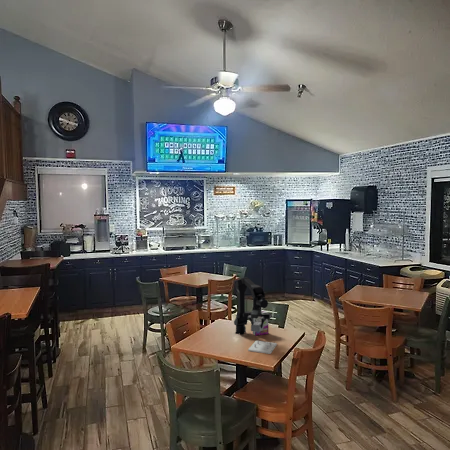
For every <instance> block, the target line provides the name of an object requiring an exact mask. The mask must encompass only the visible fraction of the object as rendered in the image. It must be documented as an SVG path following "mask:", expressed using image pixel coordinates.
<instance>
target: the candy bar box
mask: <svg viewBox="0 0 450 450" xmlns="http://www.w3.org/2000/svg"><path fill="white" fill-rule="evenodd" d="M261 312H262V313H261V314H265V313H269V312H268V311H266V310H264V311H262V310H261ZM261 319H262V317H258V318H257V319H256V318H253V320H254V322H255V321H257V322H262V320H261ZM253 334H254V335H253ZM252 335H253V336H255V337H256V336H258V335H259V336H264V335H269V319H266V320H265V322H264V328H263V329H262V330H261V331H260V332H256V331H252Z"/></svg>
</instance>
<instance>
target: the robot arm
mask: <svg viewBox="0 0 450 450" xmlns="http://www.w3.org/2000/svg"><path fill="white" fill-rule="evenodd" d="M234 286H235V289H236V291H237V296H238V297H237V303H238V304H237V306H238V307H237V308H238V311H237V313H236V315H235V319H234V320H233V325H235V332H234V334H238V335H244V334H245V333H247V332H246V331H247V330H246V329H247V327H246V326H247V325H248V320H249V322H250V325H252V324H253V323H254V320H253V318H256V319H257V318H258V317H262V319H261V320H262V324H261V328H262V327H263V325H264V322H265V320H266V319H268V320H270V319H272V313H269V312H268V313H265V314H261V313H262V309H266V308H267V307H268V306H269V303H268V302H269V301H268V300H267V299H266V294H265V292H264V289H263V287H262V286H261V285H258V284H255V282H253V281H252V280H251V279H250V277H248V276H247V277H242V278H241V279H238V280H236V281H235V284H234ZM247 289H249V290H250V293H251V295H252V296H251V298H252V310H251V311H249V310H248V311H247V310H246V306H245V305H246V304H245V303H246V299H245V298H246V297H245V295H246V294H245V293H246V291H247ZM245 310H246V311H245Z"/></svg>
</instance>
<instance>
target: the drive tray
mask: <svg viewBox="0 0 450 450" xmlns="http://www.w3.org/2000/svg"><path fill="white" fill-rule="evenodd" d="M277 345H278V342H271V341H270V342H269V341H263V340H255V341H254V342H253V343H252V345H250V346H249V347H248V349H247V351H248V352H253V353H260V354H261V353H262V354H267V355H268V354H269V355H271V354H272V352H273V351H274V349H275V348H276V347H277Z"/></svg>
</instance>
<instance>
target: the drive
mask: <svg viewBox="0 0 450 450" xmlns="http://www.w3.org/2000/svg"><path fill="white" fill-rule="evenodd" d="M261 324H262V322H257V321H255V322H254V323H253V324H250V332H253V331H256V332H260V331H261V330H262V329H263V328H264V325H263V327H262V328H261Z"/></svg>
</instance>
